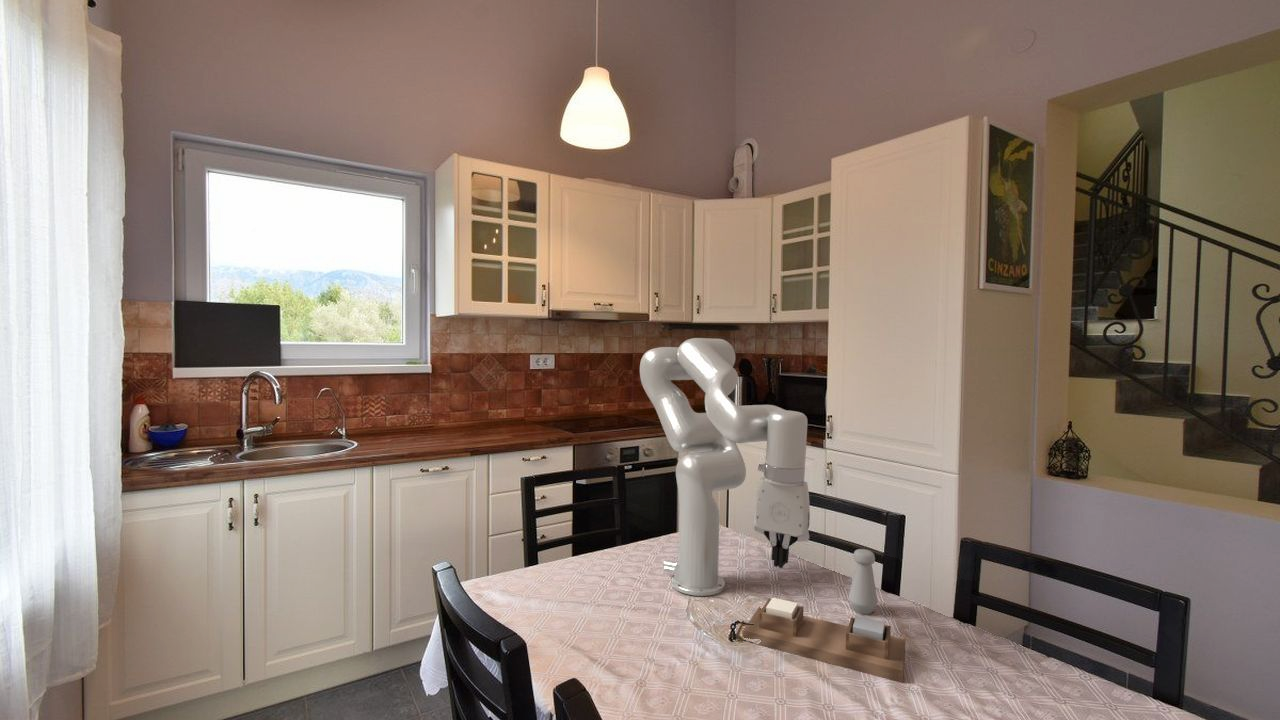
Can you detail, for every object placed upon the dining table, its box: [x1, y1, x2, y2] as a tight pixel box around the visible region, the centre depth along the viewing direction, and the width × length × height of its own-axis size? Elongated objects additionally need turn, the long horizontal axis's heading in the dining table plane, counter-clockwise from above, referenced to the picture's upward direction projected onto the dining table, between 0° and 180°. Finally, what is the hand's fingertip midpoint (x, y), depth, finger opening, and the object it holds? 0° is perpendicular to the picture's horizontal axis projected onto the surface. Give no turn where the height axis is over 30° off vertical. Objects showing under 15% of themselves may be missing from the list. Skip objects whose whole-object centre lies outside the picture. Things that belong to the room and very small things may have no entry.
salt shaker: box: [848, 548, 879, 616], centre depth 123 cm, size 6×6×13 cm
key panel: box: [742, 598, 907, 683], centre depth 108 cm, size 28×12×5 cm, turn 62°
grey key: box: [853, 615, 886, 640], centre depth 104 cm, size 5×5×2 cm
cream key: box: [766, 597, 799, 619], centre depth 112 cm, size 5×5×2 cm
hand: (779, 564), depth 112 cm, fingers closed
